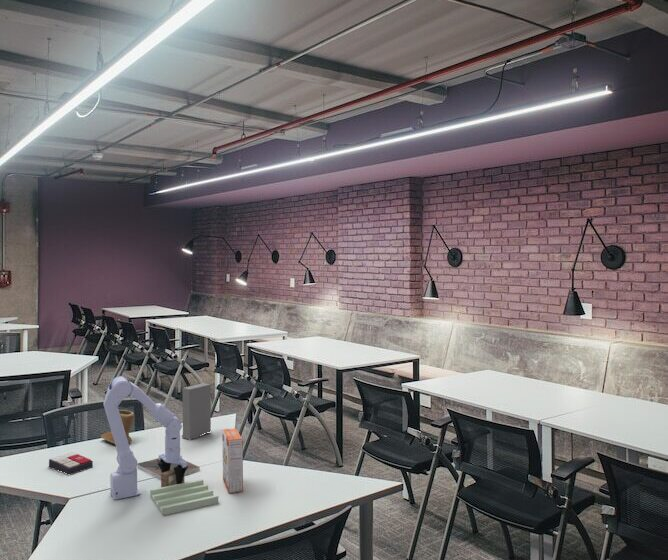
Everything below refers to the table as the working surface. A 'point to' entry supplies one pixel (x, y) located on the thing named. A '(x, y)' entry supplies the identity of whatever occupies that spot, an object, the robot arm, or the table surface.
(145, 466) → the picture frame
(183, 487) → the green slotted rack
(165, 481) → the frame
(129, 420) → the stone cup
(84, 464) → the red and beige box
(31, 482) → the table surface
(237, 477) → the cracker box
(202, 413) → the upright grey panel
